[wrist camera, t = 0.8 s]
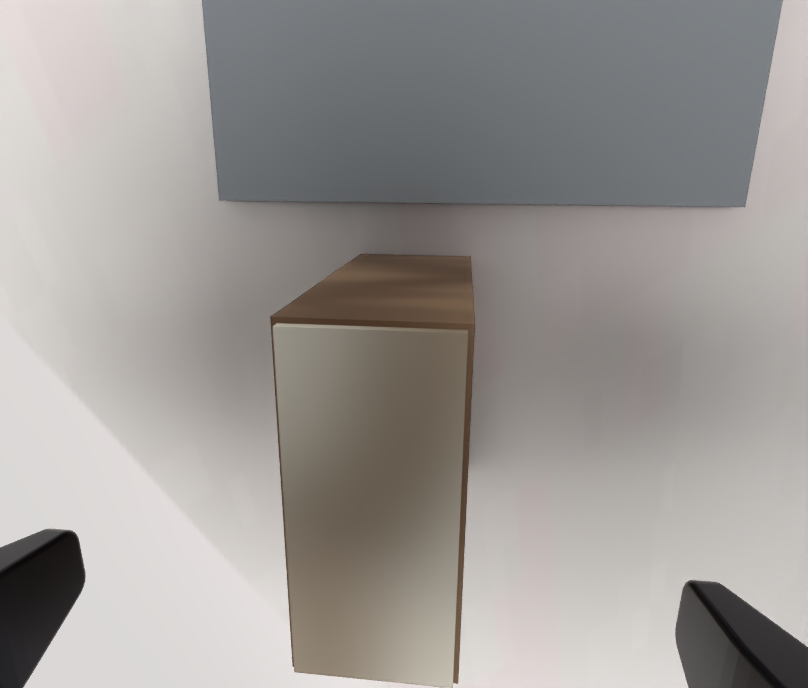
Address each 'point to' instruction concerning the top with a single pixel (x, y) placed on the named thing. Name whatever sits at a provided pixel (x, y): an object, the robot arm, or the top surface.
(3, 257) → the top surface
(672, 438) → the top surface
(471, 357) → the walnut slab
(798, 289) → the top surface
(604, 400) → the top surface
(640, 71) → the mat
